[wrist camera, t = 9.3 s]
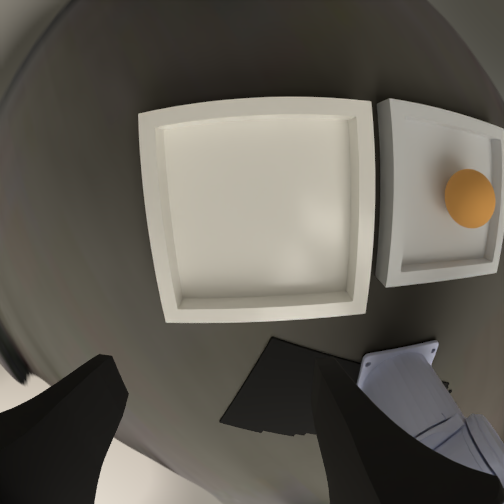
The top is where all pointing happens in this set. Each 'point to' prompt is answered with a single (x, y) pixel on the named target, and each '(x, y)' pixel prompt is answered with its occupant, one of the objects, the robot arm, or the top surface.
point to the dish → (260, 207)
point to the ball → (470, 198)
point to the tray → (434, 194)
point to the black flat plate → (281, 391)
